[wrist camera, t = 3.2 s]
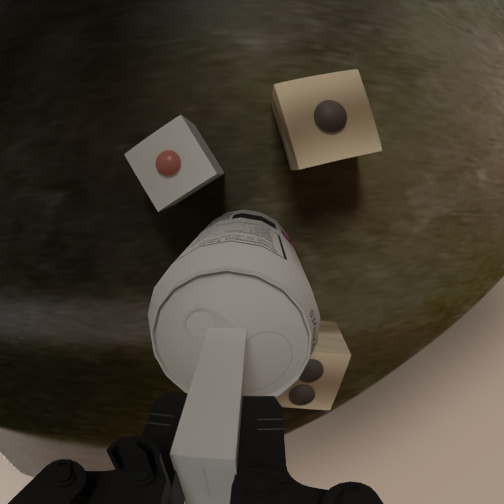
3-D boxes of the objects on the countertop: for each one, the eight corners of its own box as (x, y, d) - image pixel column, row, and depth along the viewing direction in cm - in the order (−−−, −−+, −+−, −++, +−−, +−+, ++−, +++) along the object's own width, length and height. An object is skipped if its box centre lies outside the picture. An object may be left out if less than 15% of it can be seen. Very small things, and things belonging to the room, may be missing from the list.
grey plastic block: (146, 156, 26) (123, 154, 21) (194, 124, 25) (179, 114, 20) (175, 204, 27) (157, 212, 22) (224, 173, 26) (216, 173, 21)
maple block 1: (270, 103, 24) (274, 83, 18) (337, 89, 24) (358, 68, 18) (290, 170, 26) (299, 169, 20) (356, 154, 25) (383, 150, 19)
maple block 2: (274, 313, 29) (277, 348, 23) (335, 321, 29) (351, 356, 23) (262, 366, 30) (262, 406, 24) (319, 372, 31) (330, 411, 25)
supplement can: (311, 249, 27) (363, 333, 13) (250, 316, 29) (243, 437, 14) (238, 188, 26) (212, 209, 12) (180, 262, 28) (109, 349, 13)
